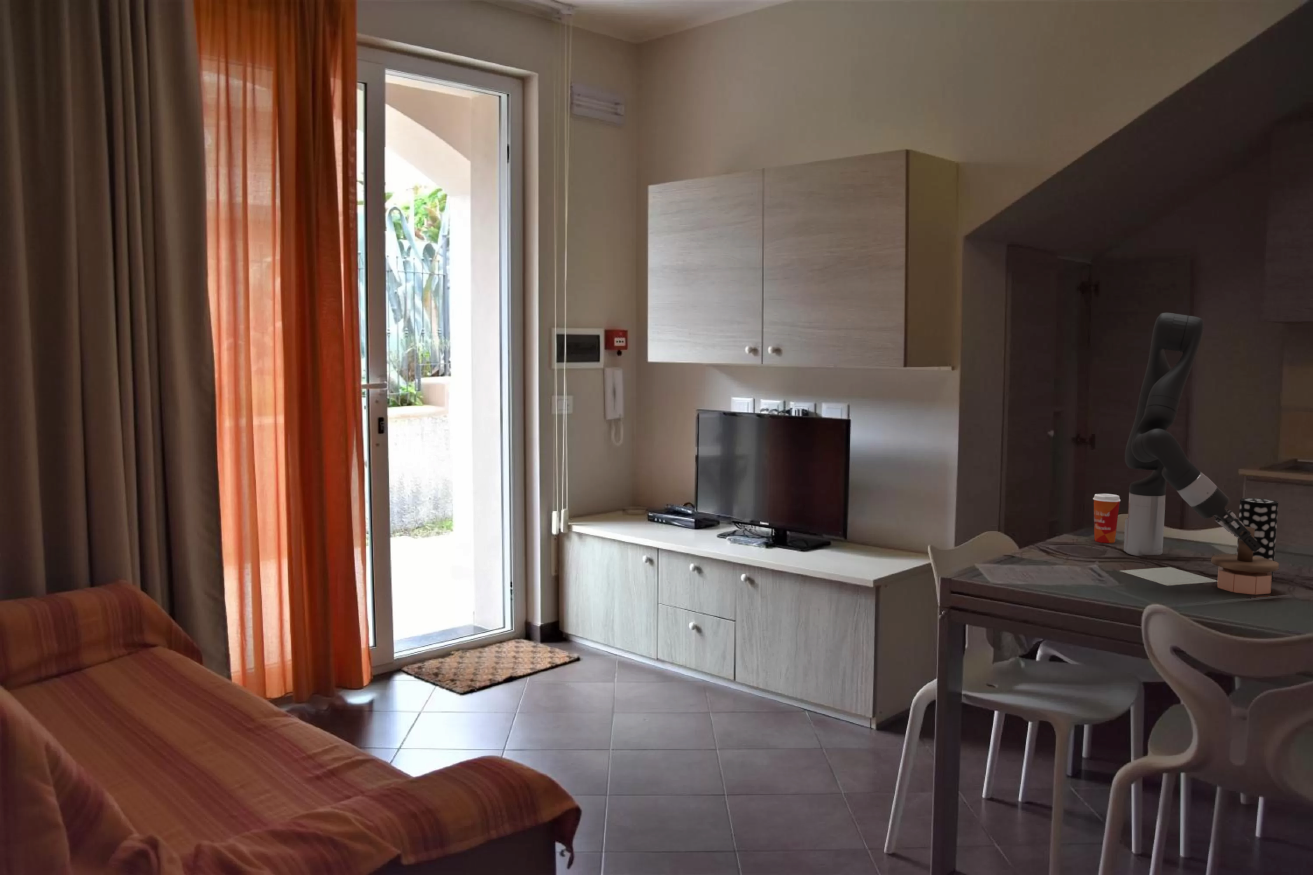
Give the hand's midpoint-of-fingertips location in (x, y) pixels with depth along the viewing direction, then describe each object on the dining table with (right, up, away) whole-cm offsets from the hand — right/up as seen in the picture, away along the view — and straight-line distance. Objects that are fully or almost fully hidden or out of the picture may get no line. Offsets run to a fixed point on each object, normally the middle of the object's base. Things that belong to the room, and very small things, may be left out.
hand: (1255, 547), depth 240 cm
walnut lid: (-2, -4, +1) cm, 5 cm away
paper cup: (-9, -5, +61) cm, 62 cm away
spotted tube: (+9, -10, +15) cm, 20 cm away
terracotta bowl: (-2, -11, +2) cm, 11 cm away
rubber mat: (-14, -10, +14) cm, 22 cm away
